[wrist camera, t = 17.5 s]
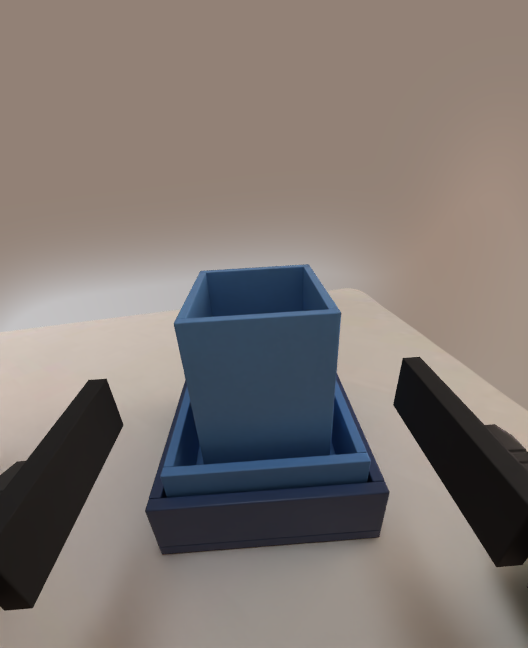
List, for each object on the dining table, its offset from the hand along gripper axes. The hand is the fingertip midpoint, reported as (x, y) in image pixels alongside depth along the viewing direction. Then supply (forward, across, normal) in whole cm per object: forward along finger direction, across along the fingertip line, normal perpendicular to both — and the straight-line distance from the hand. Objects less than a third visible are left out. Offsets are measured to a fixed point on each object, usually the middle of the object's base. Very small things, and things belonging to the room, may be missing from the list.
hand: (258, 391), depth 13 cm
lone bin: (+6, 0, -10) cm, 12 cm away
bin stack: (+6, 0, -12) cm, 13 cm away
